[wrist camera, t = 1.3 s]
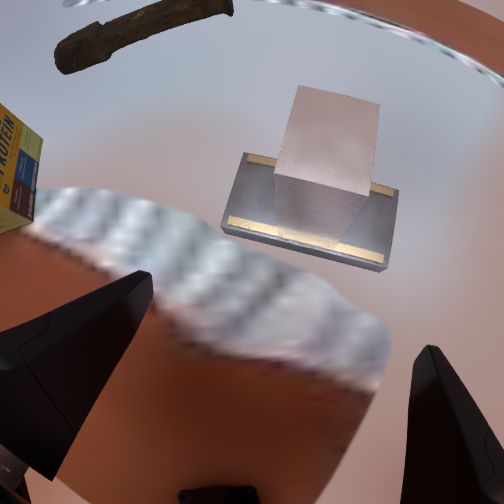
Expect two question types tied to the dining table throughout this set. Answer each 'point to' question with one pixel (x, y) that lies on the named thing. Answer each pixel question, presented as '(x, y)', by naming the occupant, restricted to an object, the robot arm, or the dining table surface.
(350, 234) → the grey gold-striped flat block
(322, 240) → the pale upright block
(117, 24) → the dark brown rod
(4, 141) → the protein box
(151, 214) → the dining table surface
